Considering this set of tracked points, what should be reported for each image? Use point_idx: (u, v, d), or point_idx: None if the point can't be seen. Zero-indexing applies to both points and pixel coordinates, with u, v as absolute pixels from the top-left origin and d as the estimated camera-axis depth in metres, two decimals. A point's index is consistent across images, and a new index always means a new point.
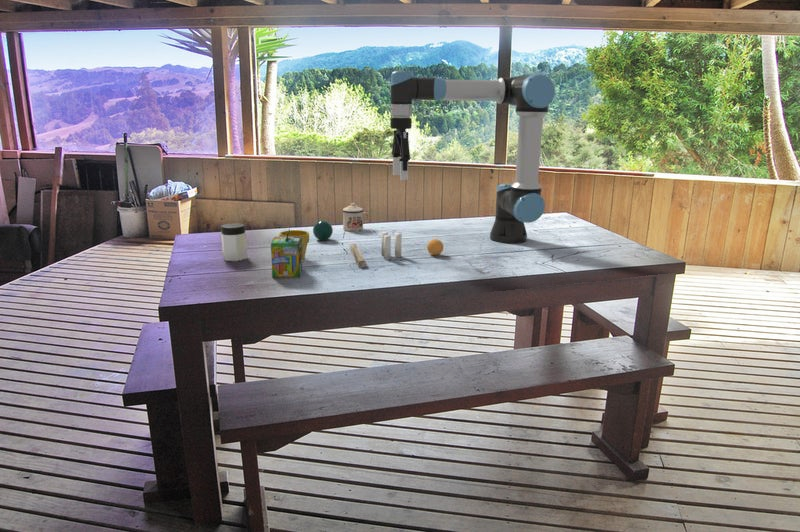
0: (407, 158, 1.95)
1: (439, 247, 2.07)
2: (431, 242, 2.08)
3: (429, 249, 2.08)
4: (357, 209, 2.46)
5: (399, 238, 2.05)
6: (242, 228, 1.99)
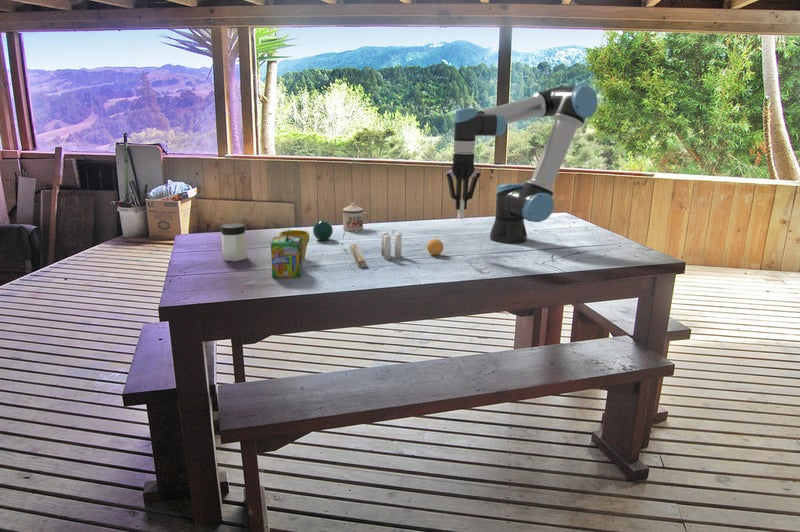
0: None
1: (439, 247, 2.07)
2: (431, 242, 2.08)
3: (429, 249, 2.08)
4: (357, 209, 2.46)
5: (399, 238, 2.05)
6: (242, 228, 1.99)
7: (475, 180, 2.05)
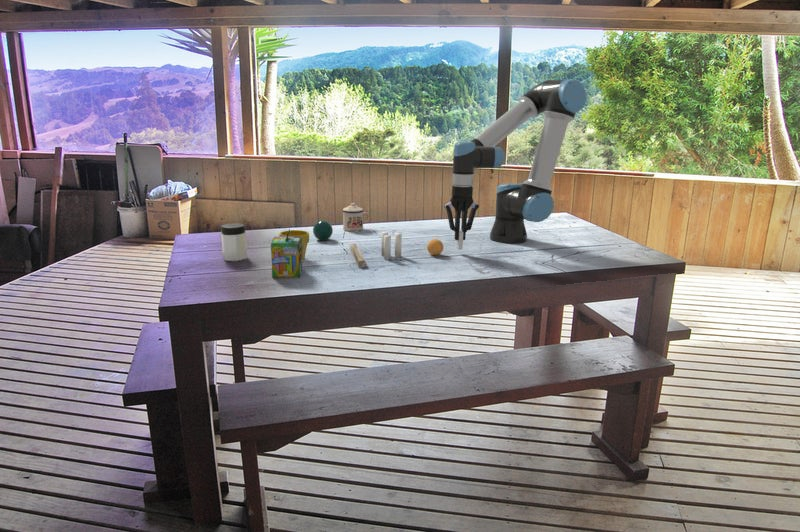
0: (451, 229, 2.09)
1: (439, 247, 2.07)
2: (431, 242, 2.08)
3: (429, 249, 2.08)
4: (357, 209, 2.46)
5: (399, 238, 2.05)
6: (242, 228, 1.99)
7: (474, 212, 2.08)
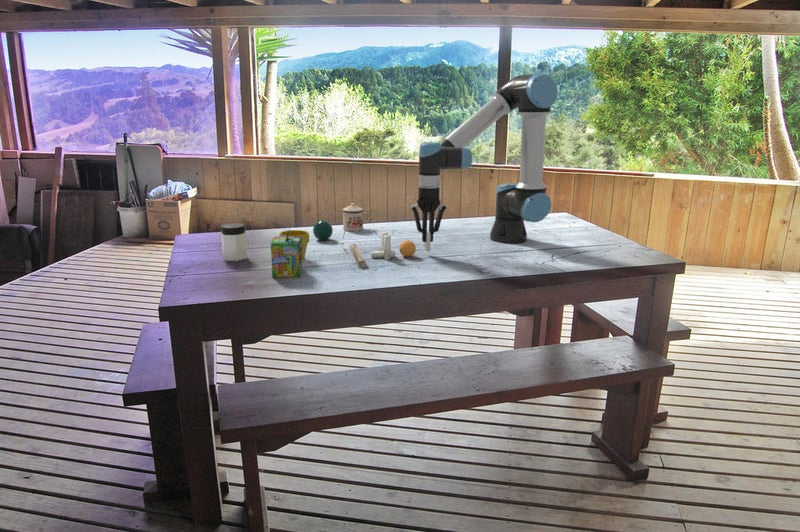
0: None
1: (407, 253, 2.05)
2: None
3: (415, 248, 2.07)
4: (357, 209, 2.46)
5: (375, 255, 2.05)
6: (242, 228, 1.99)
7: (441, 213, 2.06)
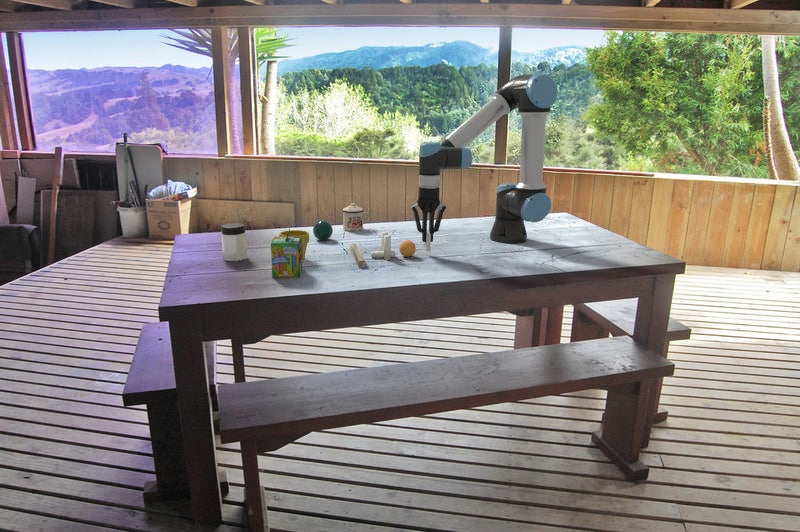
0: None
1: (407, 253, 2.05)
2: None
3: (415, 248, 2.07)
4: (357, 209, 2.46)
5: (375, 255, 2.05)
6: (242, 228, 1.99)
7: (441, 213, 2.06)
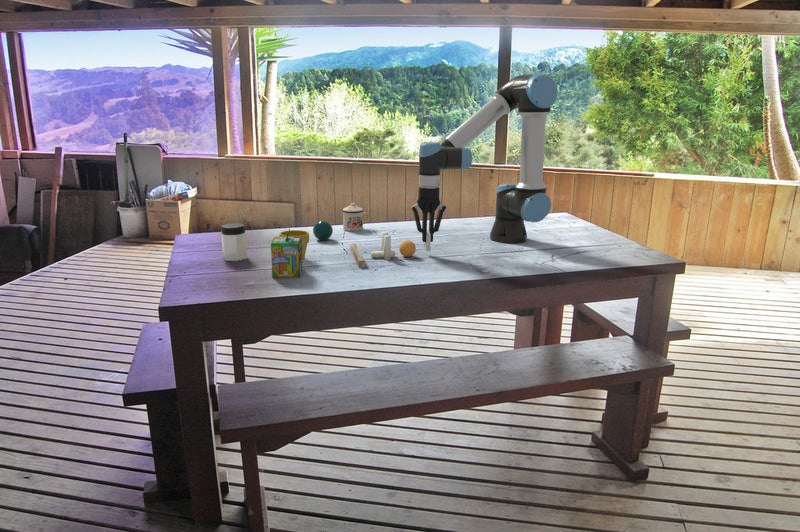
0: None
1: (407, 253, 2.05)
2: None
3: (415, 248, 2.07)
4: (357, 209, 2.46)
5: (375, 255, 2.05)
6: (242, 228, 1.99)
7: (441, 213, 2.06)
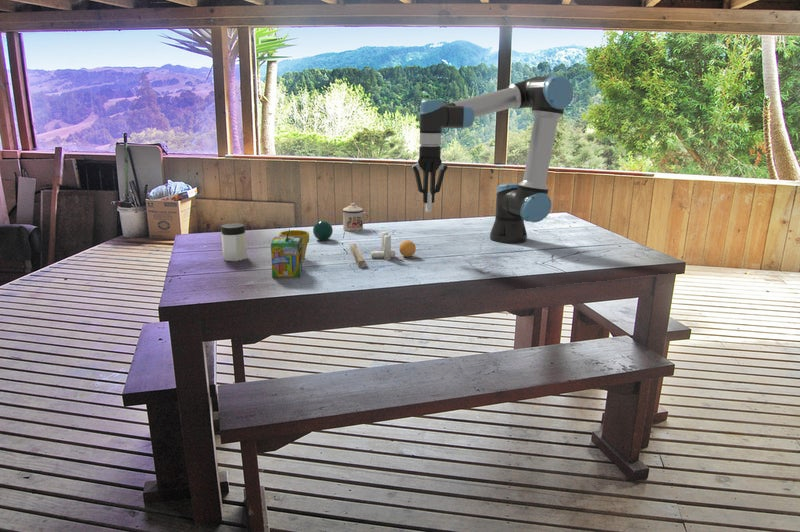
0: (419, 191, 2.03)
1: (407, 253, 2.05)
2: None
3: (415, 248, 2.07)
4: (357, 209, 2.46)
5: (375, 255, 2.05)
6: (242, 228, 1.99)
7: (442, 173, 2.02)
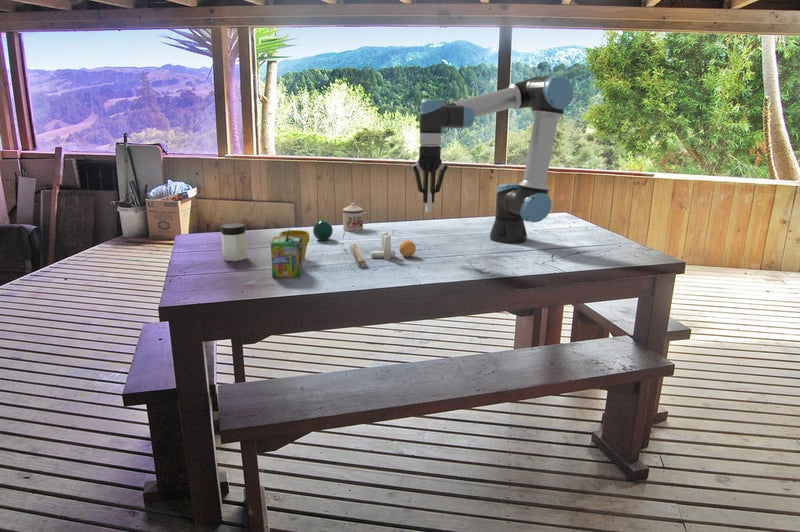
0: (419, 191, 2.03)
1: (407, 253, 2.05)
2: None
3: (415, 248, 2.07)
4: (357, 209, 2.46)
5: (375, 255, 2.05)
6: (242, 228, 1.99)
7: (442, 173, 2.02)
